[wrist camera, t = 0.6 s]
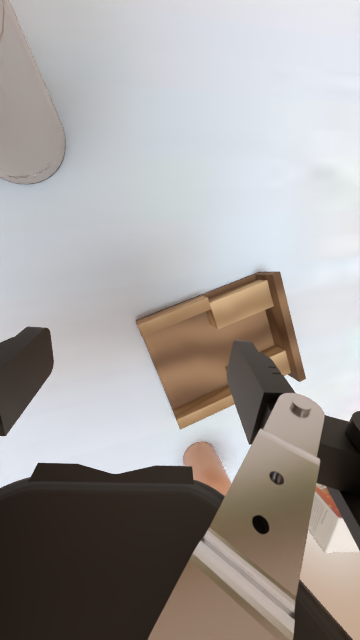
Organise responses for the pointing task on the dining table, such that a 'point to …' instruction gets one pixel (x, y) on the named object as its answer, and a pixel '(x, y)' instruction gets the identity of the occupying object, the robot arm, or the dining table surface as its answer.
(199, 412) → the keyhole track
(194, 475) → the salmon orange cylinder
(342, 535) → the small box
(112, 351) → the dining table surface
